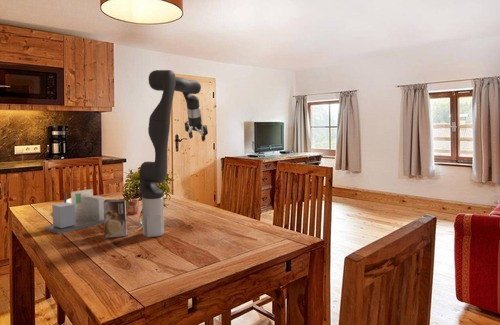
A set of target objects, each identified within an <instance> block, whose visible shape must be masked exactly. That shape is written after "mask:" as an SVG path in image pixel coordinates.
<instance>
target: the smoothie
mask: <svg viewBox="0 0 500 325" xmlns="http://www.w3.org/2000/svg"><path fill="white" fill-rule="evenodd" d="M139 202H140V200H139V201H138V200H133V201H132V202H131V200H130V202H126V215H129V216H134V215H137V214H138V212H139V204H140V203H139Z"/></svg>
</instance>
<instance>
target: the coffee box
mask: <svg viewBox="0 0 500 325" xmlns="http://www.w3.org/2000/svg"><path fill="white" fill-rule="evenodd" d="M127 223H128V222H127V213H126V200H125V199H124V198H115V199H114V198H113V199H112V198H110V199H109V198H108V199H105V200H104V223H103V224H104V238H105V239H106V238H107V239H109V238H117V237H127V234H128V229H127Z"/></svg>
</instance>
